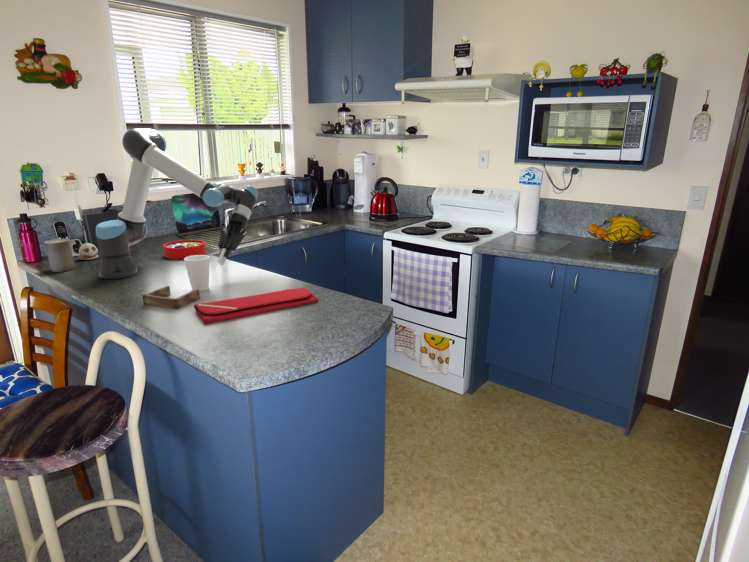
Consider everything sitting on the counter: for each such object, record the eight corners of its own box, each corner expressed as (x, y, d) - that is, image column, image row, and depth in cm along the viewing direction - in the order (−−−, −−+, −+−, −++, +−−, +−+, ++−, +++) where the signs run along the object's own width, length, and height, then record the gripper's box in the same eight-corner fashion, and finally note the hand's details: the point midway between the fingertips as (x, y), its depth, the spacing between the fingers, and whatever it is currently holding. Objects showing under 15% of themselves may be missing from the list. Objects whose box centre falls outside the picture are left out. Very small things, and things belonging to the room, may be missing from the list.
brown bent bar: (168, 294, 186) (166, 285, 185) (200, 298, 181) (199, 289, 180) (143, 304, 175) (142, 295, 174) (177, 309, 170) (175, 299, 169)
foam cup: (217, 286, 195) (214, 255, 191) (202, 293, 187) (199, 261, 183) (198, 284, 198) (194, 254, 194) (182, 291, 190) (178, 259, 186)
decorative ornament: (84, 261, 236) (78, 231, 232) (78, 259, 241) (72, 229, 236) (101, 258, 242) (95, 229, 237) (95, 256, 247) (89, 227, 242)
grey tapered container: (77, 265, 228) (71, 234, 224) (72, 271, 219) (65, 238, 215) (54, 267, 225) (47, 236, 221) (47, 273, 217) (40, 240, 212)
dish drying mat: (319, 303, 177) (318, 293, 175) (205, 326, 156) (203, 316, 155) (301, 292, 189) (301, 283, 188) (194, 312, 169) (193, 302, 168)
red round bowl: (200, 238, 260) (208, 245, 243) (201, 248, 262) (209, 256, 245) (160, 242, 250) (166, 250, 234) (162, 253, 252) (167, 261, 236)
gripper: (256, 222, 212) (237, 268, 202) (231, 221, 216) (212, 266, 206) (248, 212, 206) (228, 259, 196) (223, 211, 210) (202, 257, 200)
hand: (220, 263), depth 201 cm, fingers closed
